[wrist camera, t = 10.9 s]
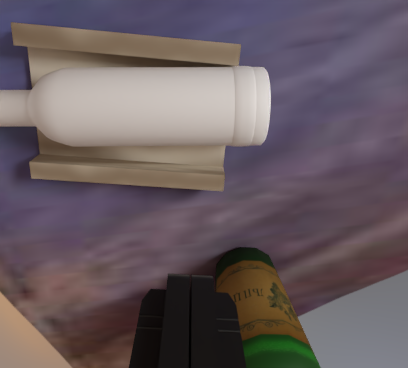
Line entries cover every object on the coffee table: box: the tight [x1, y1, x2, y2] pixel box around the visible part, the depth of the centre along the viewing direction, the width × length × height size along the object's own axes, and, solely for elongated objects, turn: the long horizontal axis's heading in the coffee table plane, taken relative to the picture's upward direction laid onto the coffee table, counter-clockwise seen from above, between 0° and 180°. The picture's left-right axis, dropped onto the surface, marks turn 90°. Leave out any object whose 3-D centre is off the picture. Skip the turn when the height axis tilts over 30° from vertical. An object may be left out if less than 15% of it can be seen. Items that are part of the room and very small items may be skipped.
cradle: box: [11, 22, 241, 191], centre depth 36 cm, size 16×22×4 cm
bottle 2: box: [216, 247, 320, 368], centre depth 35 cm, size 11×11×28 cm
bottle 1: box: [0, 66, 271, 147], centre depth 33 cm, size 8×8×30 cm
